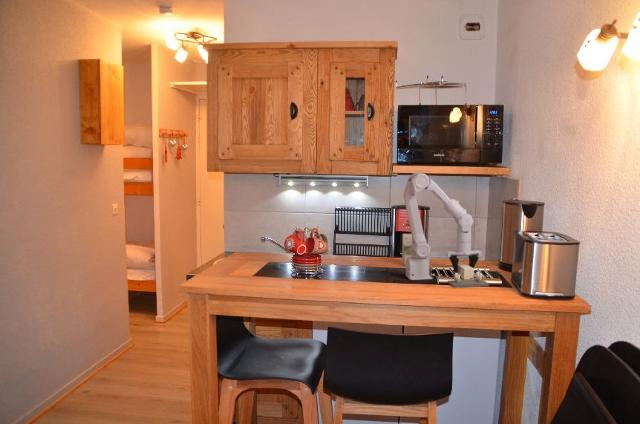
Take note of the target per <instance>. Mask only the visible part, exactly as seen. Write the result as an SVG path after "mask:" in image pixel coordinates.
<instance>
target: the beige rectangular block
mask: <svg viewBox="0 0 640 424" xmlns="http://www.w3.org/2000/svg"><path fill="white" fill-rule="evenodd" d="M474 270H475V267H474V268H472V267H470V266H469V265H468V264H466V263H465V262H458V274H459V275H460V276H461V277H462V278H464V279H470V278H473V279H474V274H475V273H474Z"/></svg>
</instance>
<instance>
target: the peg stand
mask: <svg viewBox="0 0 640 424" xmlns="http://www.w3.org/2000/svg"><path fill="white" fill-rule="evenodd" d="M475 273H476V274H475V276H476V278H475V279H474V278H473V279H471V280H463V279H461V278H460V275H459V274H458V273H455V274H454V279H453V280H447V284H449V285H450V286H451V287H453V288H454V289H456V288H457V289H458V288H475V287H489V286H490V284H489V282H487V281H486V280H483V273H481V272H479V271H476V272H475Z"/></svg>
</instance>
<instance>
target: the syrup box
mask: <svg viewBox="0 0 640 424" xmlns="http://www.w3.org/2000/svg"><path fill="white" fill-rule="evenodd" d="M411 245H412V233H402V245H401V246H402V248H401V249H402V251H401V252H402V254H401V255H402V261H401V262H402V265H403V266H404V267H406V259H407V258H408V257H412V254H413V253H414V252H413V250H412V248H411Z"/></svg>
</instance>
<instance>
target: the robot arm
mask: <svg viewBox="0 0 640 424" xmlns="http://www.w3.org/2000/svg"><path fill="white" fill-rule="evenodd" d="M423 190H426V191H430V192H431V193H432V194H433V195H434V196H435V197H436V198H437V199H438V200H440V202H441V203H442V204H443V209H444V210H445V212H447V213H448V215H450V217H452V219H453V220H454V221H455V223H456V224H457V230H456V250H452V251H446V252H445V253H446V254H445V257H447V258H449V260H450V262H451V265H452V268H453V274H454V273H458V263H459V258H458V257H468V262H469V263H468V264H469V265H468V266H470V267H472V268H474V269H475V267H476V264H477V262H478V261H479V258H480V257H481V256H482V250H478V249H476V250H475V249H473V250H472V226H473V225H474V219H473V216H472V215H471V214H469V213H468V212H467V211H468V210H467V209H466V208H463V206H461V205H460V201H459V200H458V199H454V198H449V197H448V195H447V194H446V193H445V192H444V191H443V189H442V188H441V187H439V185H438V184H437V183H436V182H435V181H434V180H433V179H432V178H430V177H429V176H428V175H427V174H425V173H421V172H414V173H412V174H411V176H410V177H409V178H407V183H406V185H405V188H404V191H403V200H404V204H405V209H406V214H407V217H408V222H409V223H408V224H409V228H410V234H412V245H411V248H412V250H413V252H414V253H413V254H412V257H408V258H407V259H406V266H405V277H407V278H408V279H409V280H411V281H416V280H419V281H420V280H433V279H434V278H433V277H432V276H431V275H430V253H431V247H430V245H429V244H428V243H427V240H426V237H425V233H424V229H423V225H422V219H421V215H420V212H419V211H420V209H419V207H418V202H417V201H418V200H417V197H418V195H419V194H420V193H421V192H422V191H423Z"/></svg>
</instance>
